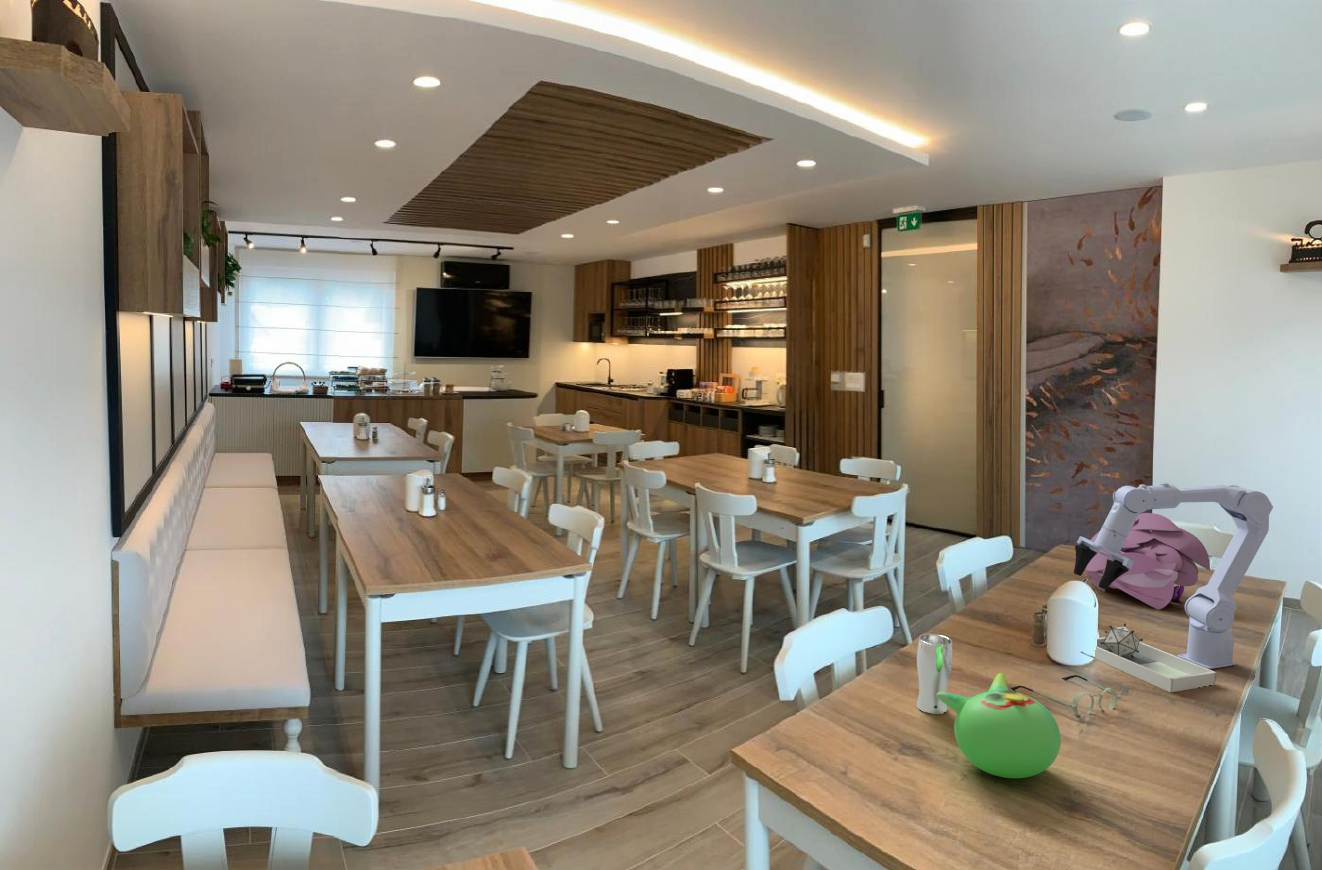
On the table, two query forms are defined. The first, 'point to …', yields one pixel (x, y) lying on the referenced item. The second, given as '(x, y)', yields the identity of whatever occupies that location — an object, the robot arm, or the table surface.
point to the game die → (1121, 641)
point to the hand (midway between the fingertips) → (1089, 581)
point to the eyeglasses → (1077, 698)
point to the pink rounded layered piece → (1155, 561)
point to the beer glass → (933, 671)
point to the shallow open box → (1158, 668)
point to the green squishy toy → (1004, 731)
